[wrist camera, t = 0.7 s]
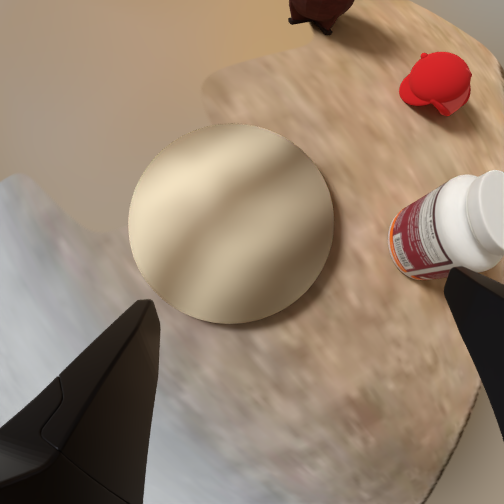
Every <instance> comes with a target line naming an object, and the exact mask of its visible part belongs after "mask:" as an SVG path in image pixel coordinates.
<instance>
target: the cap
mask: <svg viewBox="0 0 504 504" xmlns="http://www.w3.org/2000/svg"><path fill="white" fill-rule="evenodd" d="M471 77H472V74H471V72H470V70H469V68H468V66H467V64H466V63H465V62H464V60H462V59H461V58H460V57H458V56H457V55H455V54H452V53H448V52H435V53H431V54H427V53H422V54H421V59H420V60H419V61H418V62H417V63H416V64H415V65H414V66H413V68H412V70H411V72H410V74H409V75H408V76H407V77H406V78H405V79H404V80H403V81H402V83H401V85H400V89H399V94H400V97H401V99H402V100H403V101H404V102H406V103H407V104H410V105H414V106H423V105H428V104H431V103H432V104H433V105H434V106H435V107H436V108H437V109H438V110H439V112H440V114H442V115H444V116H449V115H451V114H453V113H454V112H456V111H457V110H458V109H459V108H460V107H461V106H463V105H464V104H465V103H466V102H467V101H468V99H469V97H470V91H471V88H470V80H471Z"/></svg>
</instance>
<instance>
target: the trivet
mask: <svg viewBox="0 0 504 504" xmlns="http://www.w3.org/2000/svg"><path fill="white" fill-rule="evenodd" d="M128 230H129V239H130V245H131V249H132V253H133V256H134V259H135V261H136V264H137V266H138V268H139V270H140V272H141V274H142V275H143V277H144V279H145V280H146V281H147V283H148V284H149V285H150V287H151V288H152V289H153V290H154V291H155V292H156V293H157V294H158V295H159V296H160V297H161V298H162V299H163V300H164V301H166V302H167V303H168V304H170V305H171V306H172V307H174V308H175V309H177V310H179V311H181V312H183V313H185V314H186V315H189V316H192V317H194V318H197V319H200V320H204V321H209V322H213V323H224V324H235V323H246V322H251V321H256V320H260V319H262V318H265V317H268V316H271V315H273V314H275V313H277V312H279V311H281V310H283V309H285V308H286V307H288V306H289V305H291V304H292V303H294V302H295V301H296V300H297V299H298V298H300V297H301V296H302V295H303V294H304V293H305V292H306V291H307V290H308V289H309V287H310V286H311V285H312V284H313V283H314V281H315V280H316V278H317V277H318V275H319V274H320V272H321V271H322V269H323V267H324V264H325V262H326V260H327V258H328V255H329V252H330V248H331V245H332V240H333V233H334V212H333V204H332V200H331V196H330V193H329V190H328V187H327V185H326V183H325V180H324V178H323V176H322V175H321V173H320V171H319V169H318V168H317V167H316V165H315V164H314V163H313V161H312V160H311V159H310V158H309V157H308V156H307V155H306V154H305V153H304V152H303V151H302V150H301V149H300V148H299V147H298V146H296V145H295V144H294V143H293V142H291V141H290V140H288V139H286V138H285V137H283V136H281V135H279V134H277V133H275V132H272V131H270V130H267V129H264V128H261V127H258V126H252V125H247V124H233V123H231V124H218V125H213V126H207V127H204V128H201V129H198V130H195V131H192V132H190V133H188V134H186V135H184V136H182V137H180V138H178V139H177V140H175V141H174V142H172V143H171V144H169V145H168V146H167V147H166V148H164V149H163V150H162V151H161V152H160V153H159V154H158V155H157V156H156V157H155V158H154V159H153V160H152V162H151V163H150V164H149V165H148V167H147V168H146V169H145V171H144V173H143V174H142V176H141V178H140V180H139V182H138V184H137V186H136V189H135V191H134V194H133V197H132V201H131V205H130V212H129V225H128Z"/></svg>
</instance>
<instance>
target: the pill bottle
mask: <svg viewBox="0 0 504 504" xmlns="http://www.w3.org/2000/svg"><path fill="white" fill-rule="evenodd" d="M388 246H389V251H390V254H391V257H392V259H393V261H394V263H395V265H396V266H397V267H398V269H399V270H400V271H401V272H402V273H404V274H405V275H406V276H408V277H410V278H412V279H416V280H431V279H438V278H445V277H448V274H449V271H450V269H451V268H452V267H457V266H463V267H466V268H468V269H470V270H473V271H475V272H477V273H478V272H483V271H486V270H489V269H491V268H493V267H494V266H495V265H496V264H497V263H498V262H499V261H500V260H501V259H502V257H503V255H504V172H502V171H499V170H492V171H489V172H487V173H485V174H483V175H481V176H479V177H476V176H473V175H460V176H457V177H454V178H453V179H451V180H449V181H447V182H446V183H444V184H443V185H441V186H440V187H438V188H436V189H435V190H433V191H432V192H430V193H428V194H427V195H425V196H423V197H422V198H420V199H419V200H417V201H415V202H414V203H412V204H410V205H409V206H407V207H405V208H404V209H402V210H401V211H400V212H399V213H398V214H397V215H396V216H395V217H394V219H393V221H392V223H391V225H390V228H389V233H388Z"/></svg>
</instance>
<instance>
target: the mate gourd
mask: <svg viewBox="0 0 504 504" xmlns="http://www.w3.org/2000/svg"><path fill="white" fill-rule="evenodd" d="M353 2H354V0H289V7H290V12H291V18H289V19H288V20H289V23H290V24H292V25H293V24H299V23H305V22H314V23H315V24H316V25H317V26H318V27H319V29H320V30H321V31H322V32H323V33H324V34H325V35H331V33H332V31H331V29H330V28H331V27H332V26H333V24H334V23H335V22H336V20H337V18H338V17H339V16H341V15H342V14H344V13H345V12H346V11H347V10H348V9H349V8H350V7H351V6H352V4H353Z"/></svg>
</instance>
